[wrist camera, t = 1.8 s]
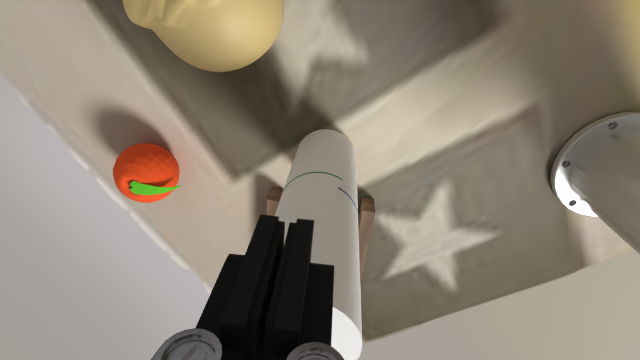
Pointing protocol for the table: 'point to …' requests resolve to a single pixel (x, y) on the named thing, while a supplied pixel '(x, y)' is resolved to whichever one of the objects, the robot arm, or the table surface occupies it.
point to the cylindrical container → (330, 224)
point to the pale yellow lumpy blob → (211, 29)
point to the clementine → (146, 172)
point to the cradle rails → (363, 221)
